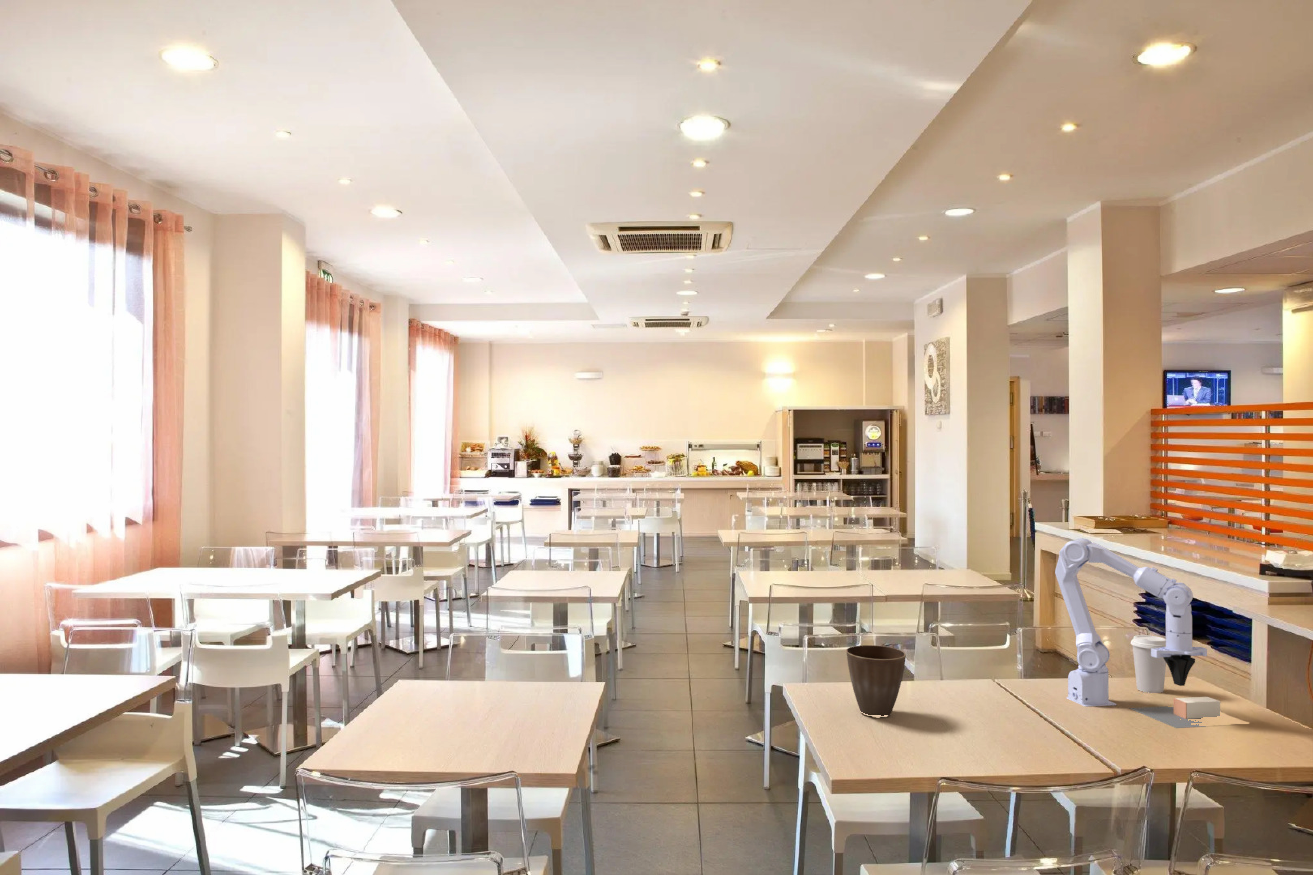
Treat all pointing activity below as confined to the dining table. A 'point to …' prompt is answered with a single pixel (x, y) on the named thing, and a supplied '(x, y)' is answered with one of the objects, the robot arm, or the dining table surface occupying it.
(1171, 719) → the mat
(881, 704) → the plant pot
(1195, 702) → the block
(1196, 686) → the dining table surface
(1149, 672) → the coffee cup
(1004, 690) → the dining table surface
